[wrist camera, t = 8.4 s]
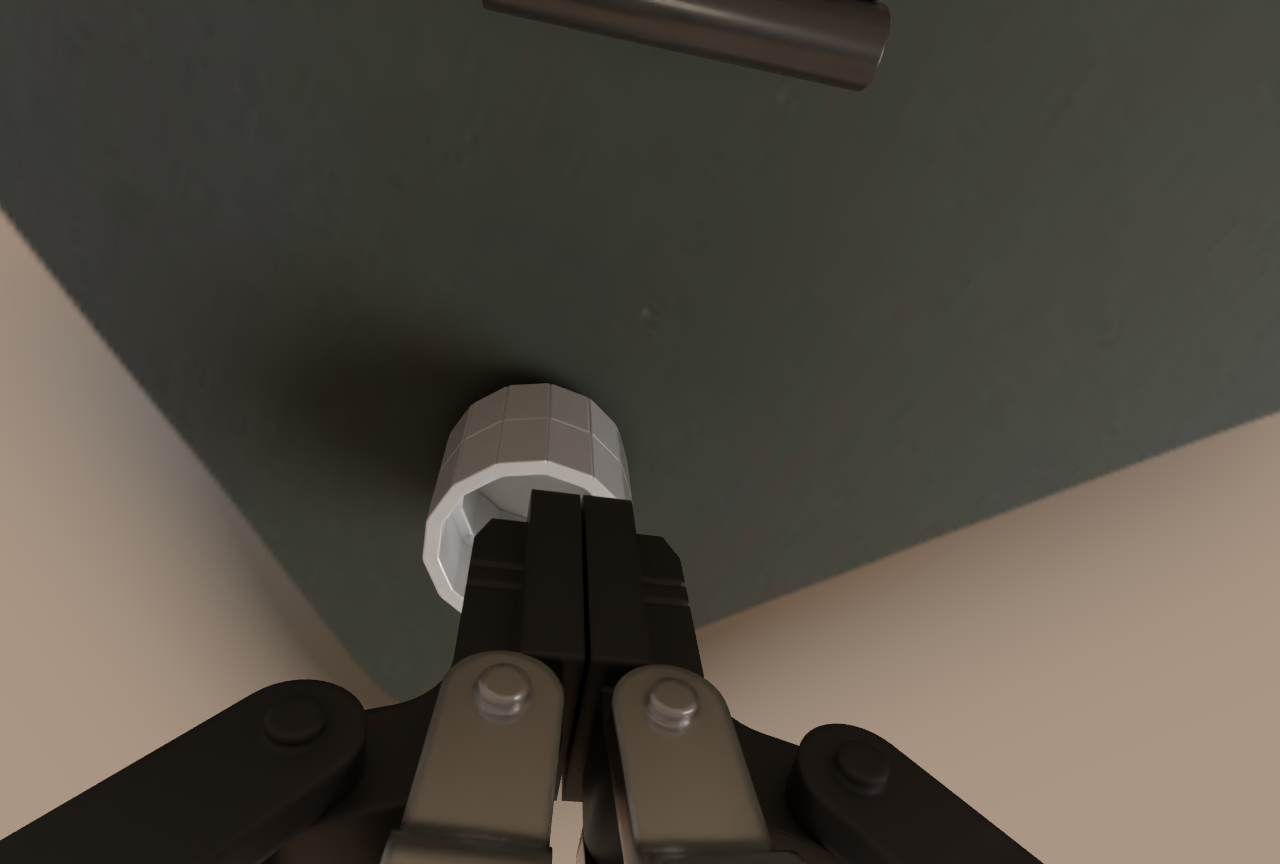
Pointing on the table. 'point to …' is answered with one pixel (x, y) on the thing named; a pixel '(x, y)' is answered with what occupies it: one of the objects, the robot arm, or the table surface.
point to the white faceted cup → (516, 469)
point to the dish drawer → (737, 31)
